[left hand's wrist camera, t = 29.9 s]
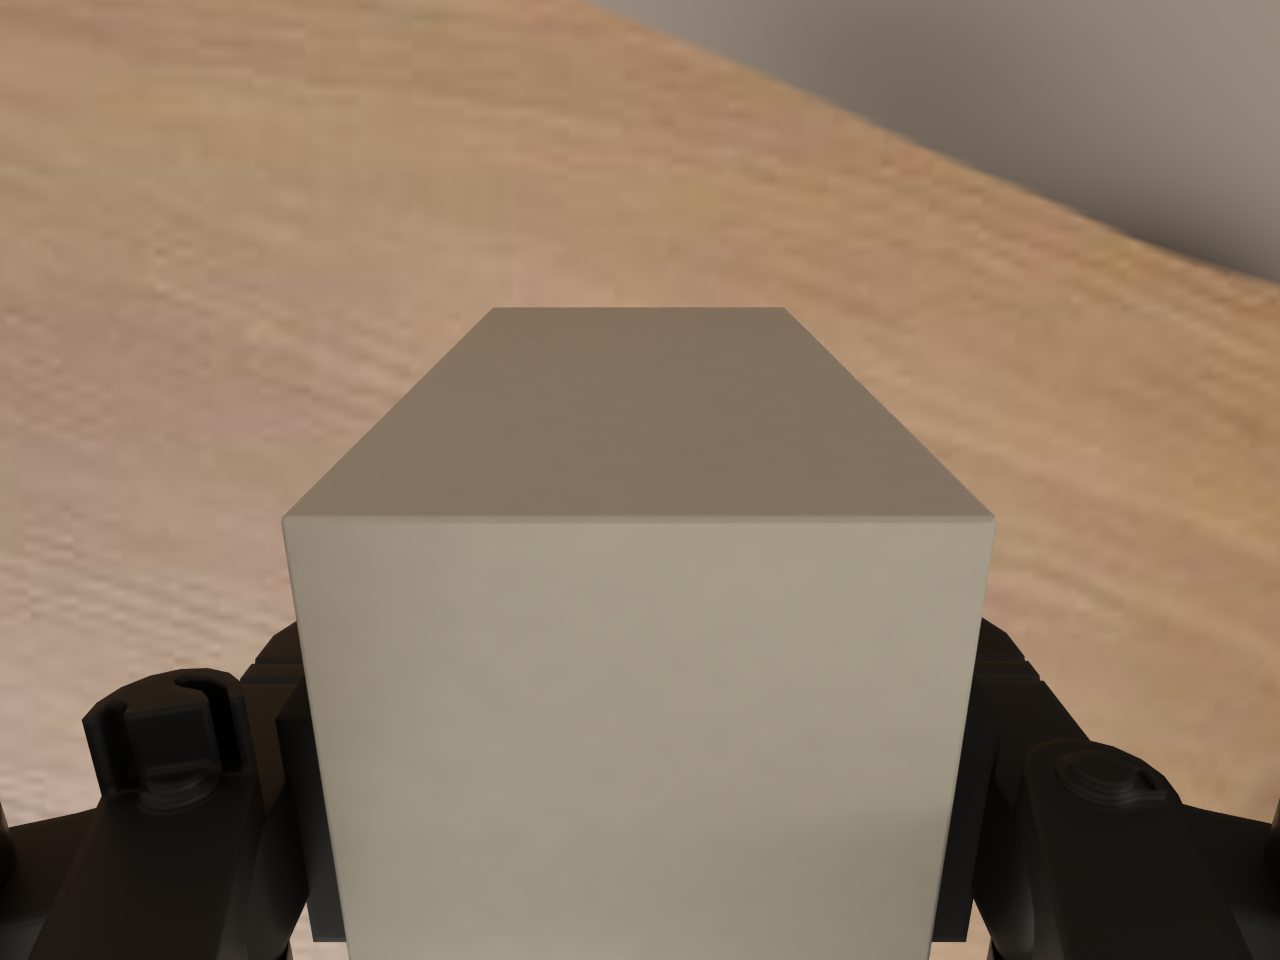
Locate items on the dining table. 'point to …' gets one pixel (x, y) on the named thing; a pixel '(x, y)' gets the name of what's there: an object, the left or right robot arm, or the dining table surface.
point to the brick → (638, 649)
